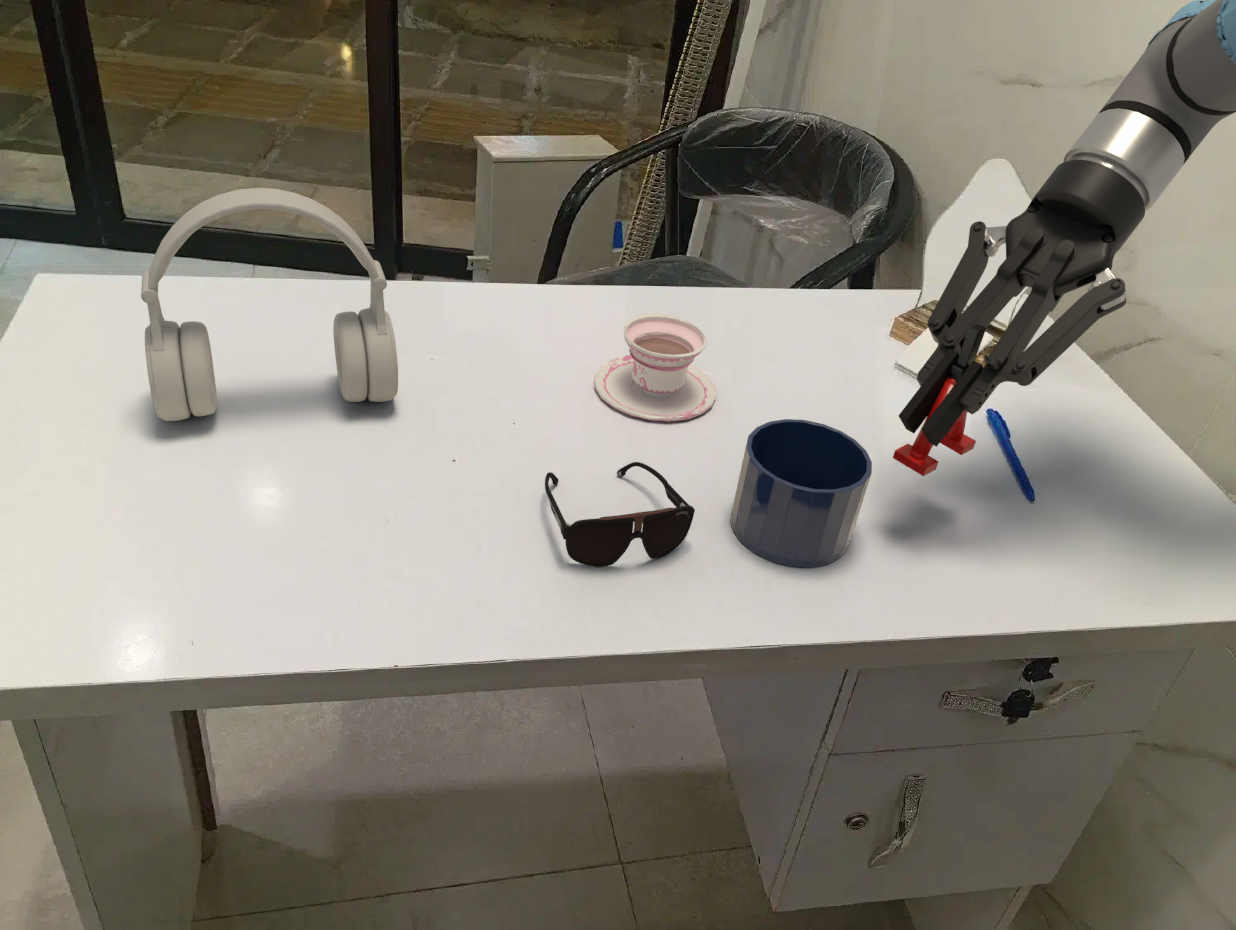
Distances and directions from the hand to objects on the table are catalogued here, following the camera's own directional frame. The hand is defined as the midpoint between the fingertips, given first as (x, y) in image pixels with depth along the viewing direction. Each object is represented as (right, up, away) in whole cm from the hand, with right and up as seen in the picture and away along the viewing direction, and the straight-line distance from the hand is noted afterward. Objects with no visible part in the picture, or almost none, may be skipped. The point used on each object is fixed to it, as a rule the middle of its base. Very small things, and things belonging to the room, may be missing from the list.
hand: (917, 430), depth 76 cm
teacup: (-19, +5, +21) cm, 29 cm away
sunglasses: (-24, -7, +4) cm, 25 cm away
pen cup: (-9, -8, +6) cm, 13 cm away
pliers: (+3, -2, +4) cm, 5 cm away
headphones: (-53, +3, +13) cm, 55 cm away
